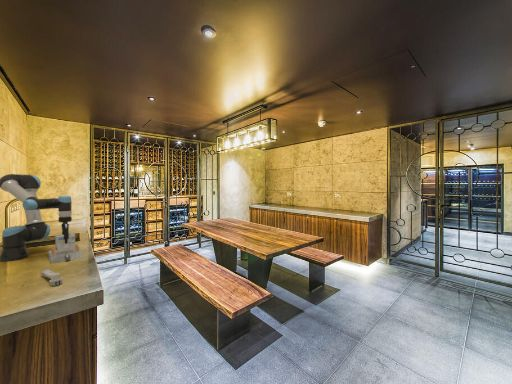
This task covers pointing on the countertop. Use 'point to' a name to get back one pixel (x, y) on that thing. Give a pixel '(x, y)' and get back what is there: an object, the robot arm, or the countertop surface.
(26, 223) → the robot arm
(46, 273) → the flashlight
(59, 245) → the light bulb box
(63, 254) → the orange-striped white panel
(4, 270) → the countertop surface
